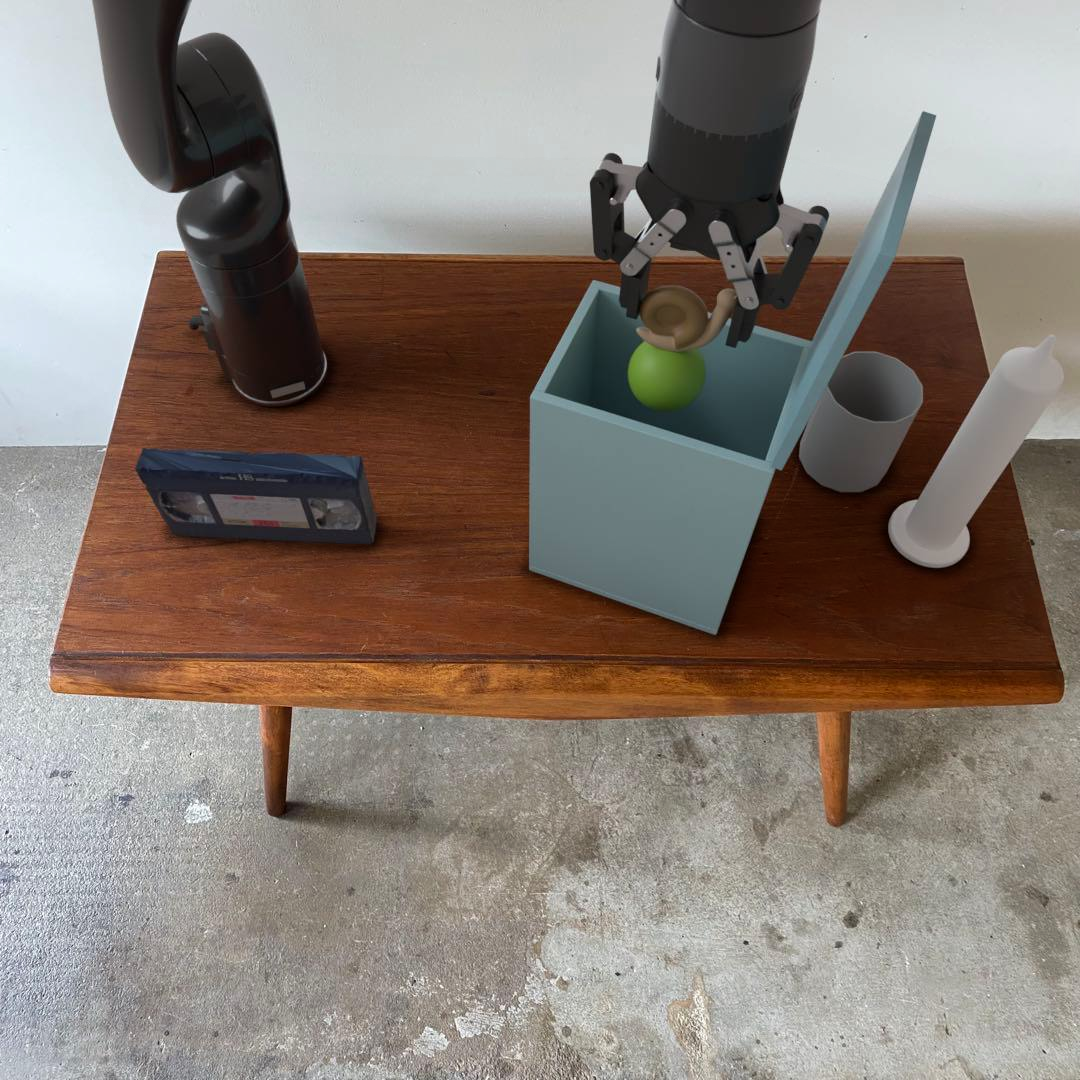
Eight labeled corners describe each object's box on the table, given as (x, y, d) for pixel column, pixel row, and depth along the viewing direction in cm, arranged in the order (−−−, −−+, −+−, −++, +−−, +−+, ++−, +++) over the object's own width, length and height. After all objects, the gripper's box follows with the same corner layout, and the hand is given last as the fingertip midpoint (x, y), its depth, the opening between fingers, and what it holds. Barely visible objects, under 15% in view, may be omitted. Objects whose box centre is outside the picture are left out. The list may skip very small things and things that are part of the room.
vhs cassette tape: (170, 536, 86) (132, 468, 78) (179, 509, 88) (143, 440, 79) (373, 549, 86) (357, 483, 77) (379, 522, 87) (363, 454, 79)
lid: (879, 252, 47) (895, 257, 47) (922, 110, 53) (936, 115, 53) (769, 466, 62) (781, 471, 62) (814, 336, 68) (824, 340, 68)
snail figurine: (708, 435, 68) (741, 309, 58) (619, 420, 69) (636, 293, 59) (716, 379, 71) (748, 250, 61) (630, 365, 72) (648, 235, 62)
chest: (528, 570, 85) (529, 396, 66) (579, 465, 91) (593, 279, 72) (715, 635, 81) (774, 473, 62) (754, 521, 88) (817, 342, 69)
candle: (952, 581, 85) (1091, 389, 64) (875, 545, 87) (987, 347, 66) (977, 525, 88) (1118, 324, 67) (903, 491, 90) (1018, 286, 69)
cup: (896, 441, 93) (933, 369, 85) (875, 504, 89) (911, 435, 81) (812, 413, 95) (839, 340, 87) (787, 473, 91) (814, 402, 82)
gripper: (882, 79, 50) (803, 317, 64) (621, 19, 53) (600, 260, 67) (852, 162, 46) (775, 395, 60) (573, 93, 49) (562, 331, 63)
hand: (684, 323), depth 64 cm, fingers closed on snail figurine, 6 cm apart
